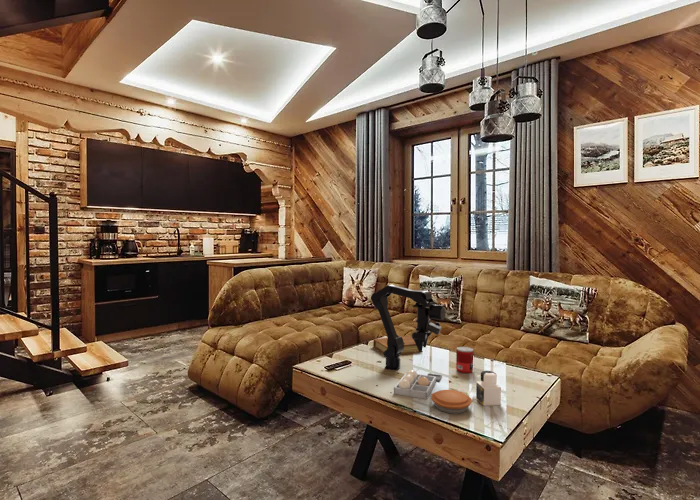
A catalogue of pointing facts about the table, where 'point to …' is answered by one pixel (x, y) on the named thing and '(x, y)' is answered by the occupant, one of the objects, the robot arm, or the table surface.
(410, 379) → the white egg
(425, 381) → the brown egg
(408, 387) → the white egg
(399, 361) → the robot arm
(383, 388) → the table surface
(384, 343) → the diary
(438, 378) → the egg dish
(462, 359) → the canned food
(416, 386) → the egg tray
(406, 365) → the table surface
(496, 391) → the medicine bottle
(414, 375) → the white egg
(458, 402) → the pie
